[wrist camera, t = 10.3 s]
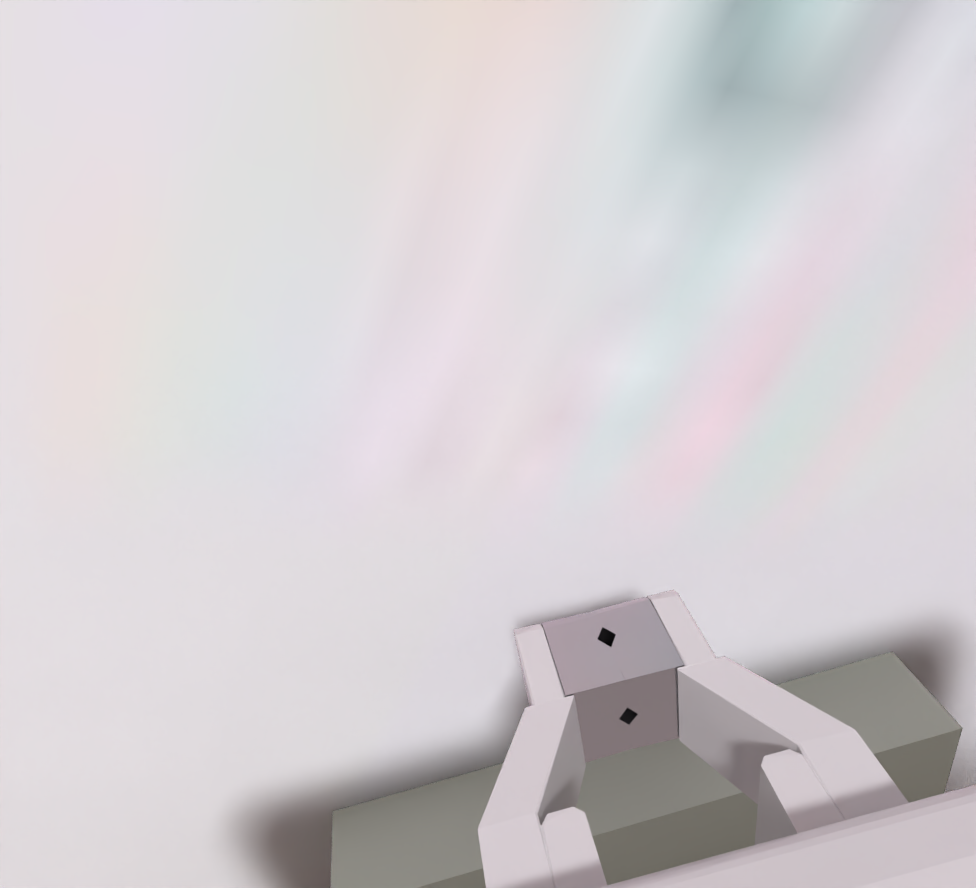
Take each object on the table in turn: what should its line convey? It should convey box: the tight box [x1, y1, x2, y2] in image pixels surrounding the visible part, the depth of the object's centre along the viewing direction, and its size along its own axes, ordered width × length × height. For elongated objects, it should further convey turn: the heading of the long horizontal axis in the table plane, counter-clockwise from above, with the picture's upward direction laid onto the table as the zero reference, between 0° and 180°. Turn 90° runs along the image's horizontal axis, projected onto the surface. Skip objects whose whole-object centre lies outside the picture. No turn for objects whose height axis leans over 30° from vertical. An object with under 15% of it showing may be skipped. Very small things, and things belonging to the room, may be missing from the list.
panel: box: [331, 652, 962, 888], centre depth 21 cm, size 16×12×3 cm
